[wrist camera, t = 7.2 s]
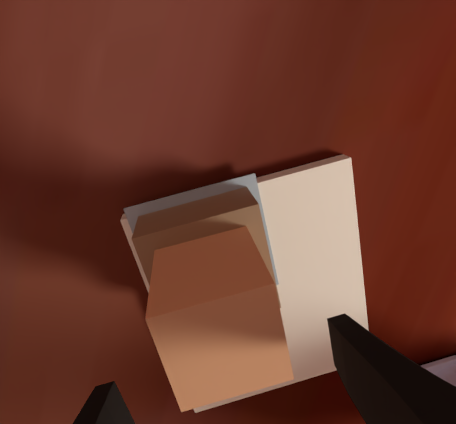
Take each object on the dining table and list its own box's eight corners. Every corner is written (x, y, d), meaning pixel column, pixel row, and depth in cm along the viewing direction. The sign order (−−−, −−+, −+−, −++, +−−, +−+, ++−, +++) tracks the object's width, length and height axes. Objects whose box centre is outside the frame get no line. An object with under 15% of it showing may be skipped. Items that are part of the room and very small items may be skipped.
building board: (341, 144, 19) (380, 157, 16) (364, 349, 25) (396, 395, 21) (119, 204, 19) (104, 233, 15) (194, 400, 25) (197, 456, 21)
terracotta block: (246, 225, 16) (274, 283, 11) (263, 301, 18) (294, 379, 13) (154, 250, 16) (145, 318, 11) (180, 324, 17) (181, 412, 13)
